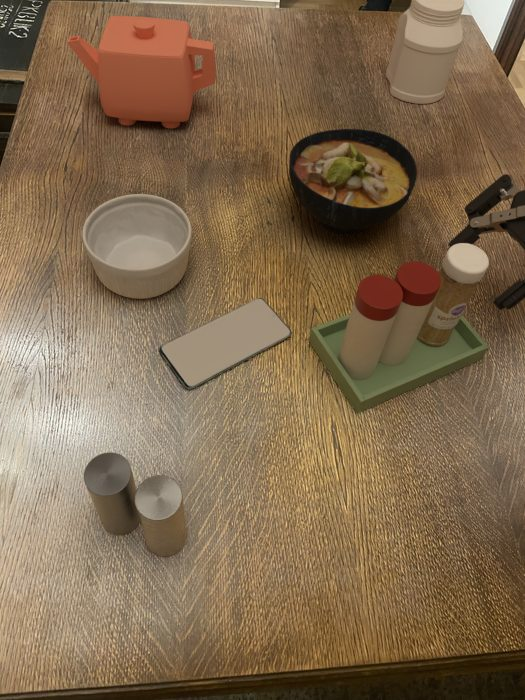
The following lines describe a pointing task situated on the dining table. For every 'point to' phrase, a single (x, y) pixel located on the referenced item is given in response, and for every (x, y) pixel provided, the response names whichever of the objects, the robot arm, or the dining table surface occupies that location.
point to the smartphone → (224, 342)
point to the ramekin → (138, 244)
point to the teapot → (147, 68)
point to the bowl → (351, 177)
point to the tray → (399, 378)
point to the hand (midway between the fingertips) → (473, 280)
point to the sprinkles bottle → (453, 291)
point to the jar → (425, 50)
